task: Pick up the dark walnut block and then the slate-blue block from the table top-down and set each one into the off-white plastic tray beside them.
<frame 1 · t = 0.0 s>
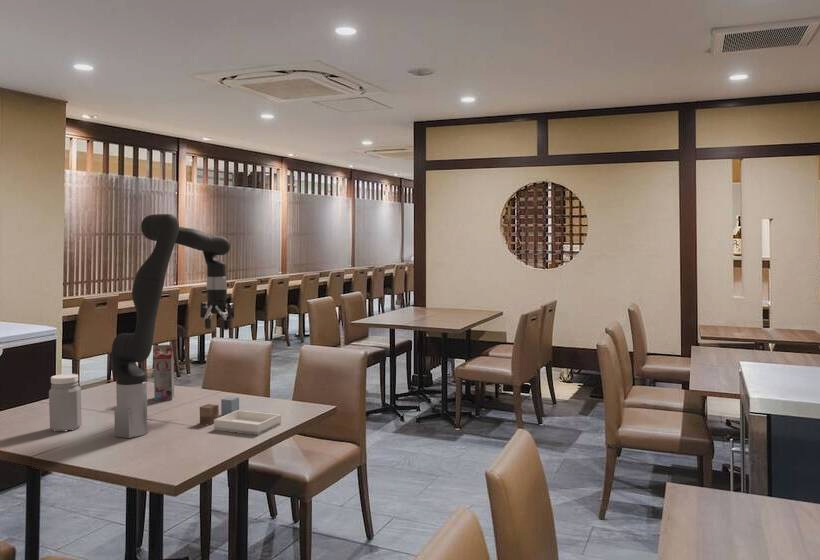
hand: (217, 329, 251), 29 cm above the table, tool pointing down, fingers open, 8 cm apart
jar: (66, 429, 216), on the table
tray: (248, 427, 218), on the table
walnut block: (209, 422, 224), on the table
slate block: (230, 414, 235), on the table
printed cardboard box: (164, 399, 259), on the table
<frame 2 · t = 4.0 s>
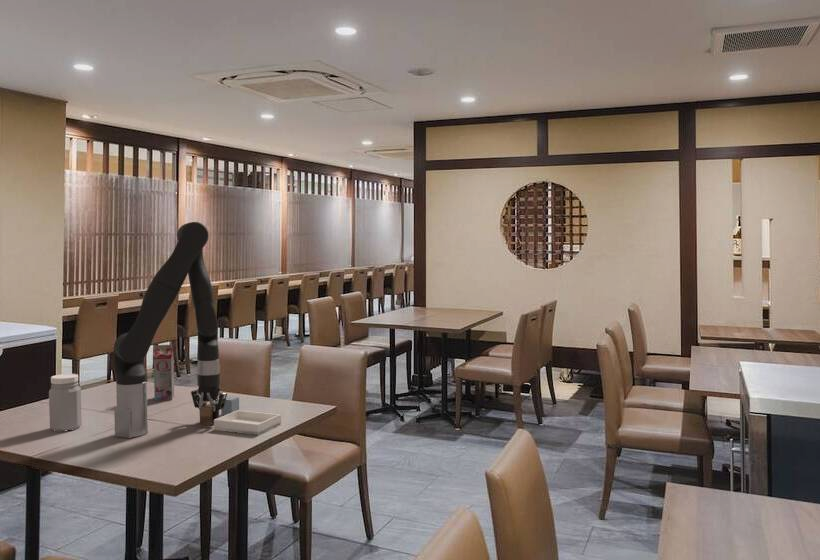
hand: (209, 420, 224), 1 cm above the table, tool pointing down, fingers closed on walnut block, 4 cm apart
walnut block: (209, 422, 224), on the table, touching gripper
everything else where it was.
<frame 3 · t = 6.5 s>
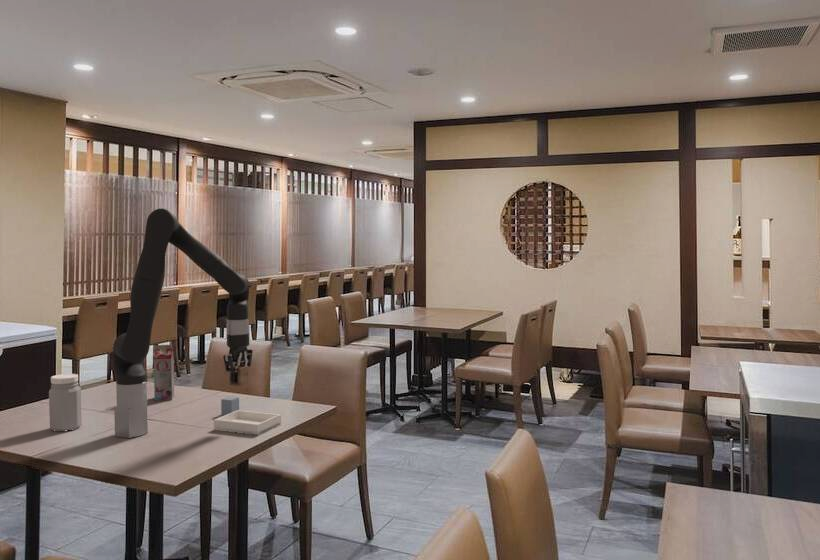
hand: (238, 381, 219), 15 cm above the table, tool pointing down, fingers closed on walnut block, 4 cm apart
walnut block: (239, 384, 219), point 15 cm above the table, touching gripper
everything else where it was.
when the fingers open (4 cm above the table, at t = 9.0 s): walnut block drops 2 cm, resting on tray.
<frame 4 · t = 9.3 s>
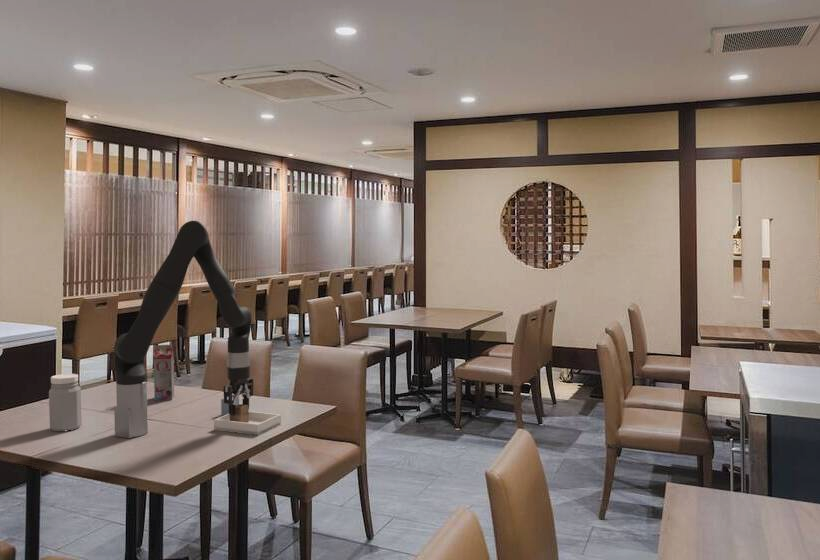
hand: (239, 412, 219), 5 cm above the table, tool pointing down, fingers open, 7 cm apart
walnut block: (239, 423, 219), point 1 cm above the table, touching tray
everything else where it was.
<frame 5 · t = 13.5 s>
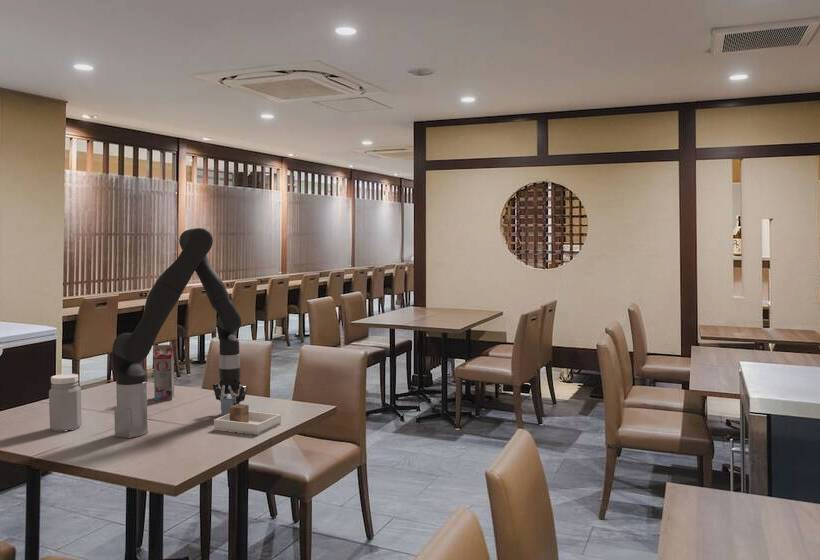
hand: (230, 411, 235), 1 cm above the table, tool pointing down, fingers closed on slate block, 4 cm apart
slate block: (230, 414, 235), on the table, touching gripper
everything else where it was.
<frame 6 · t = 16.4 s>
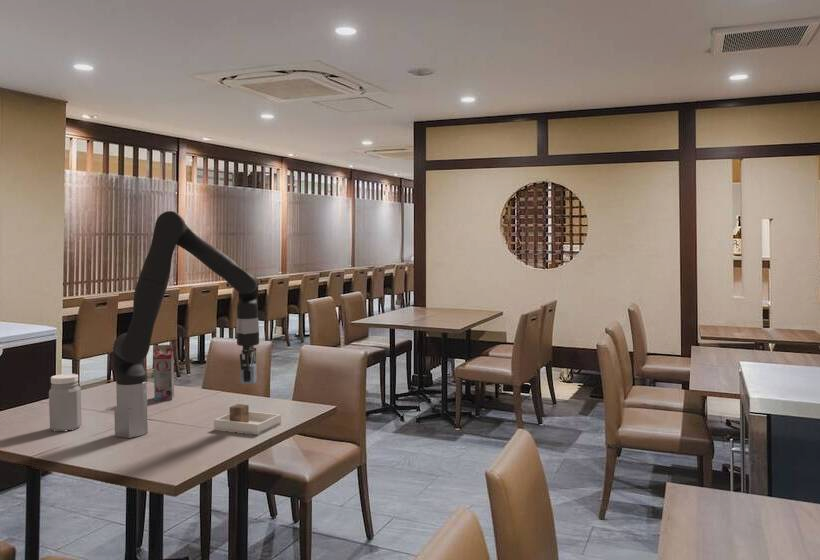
hand: (248, 379, 221), 16 cm above the table, tool pointing down, fingers closed on slate block, 4 cm apart
slate block: (248, 382, 221), point 15 cm above the table, touching gripper
everything else where it was.
when the fingers open (4 cm above the table, at t = 19.6 s): slate block drops 2 cm, resting on tray.
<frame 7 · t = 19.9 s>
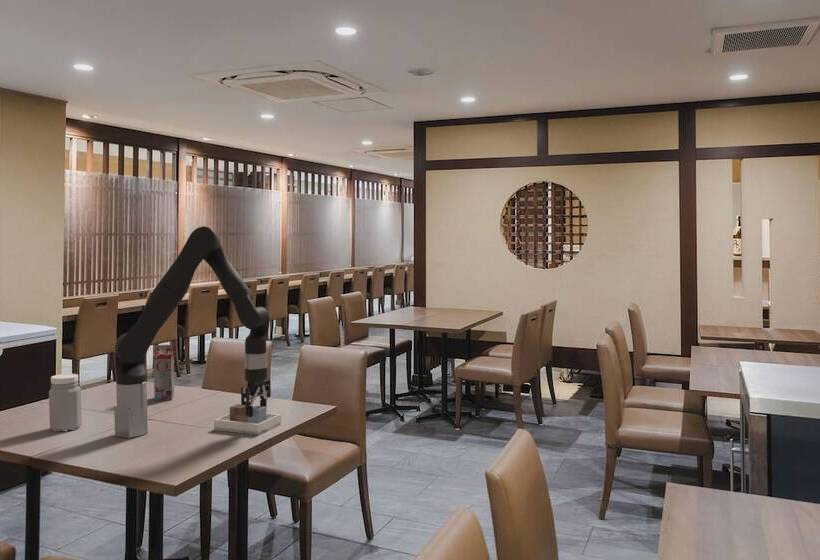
hand: (256, 413, 217), 5 cm above the table, tool pointing down, fingers open, 7 cm apart
slate block: (257, 425, 217), point 1 cm above the table, touching tray
everything else where it was.
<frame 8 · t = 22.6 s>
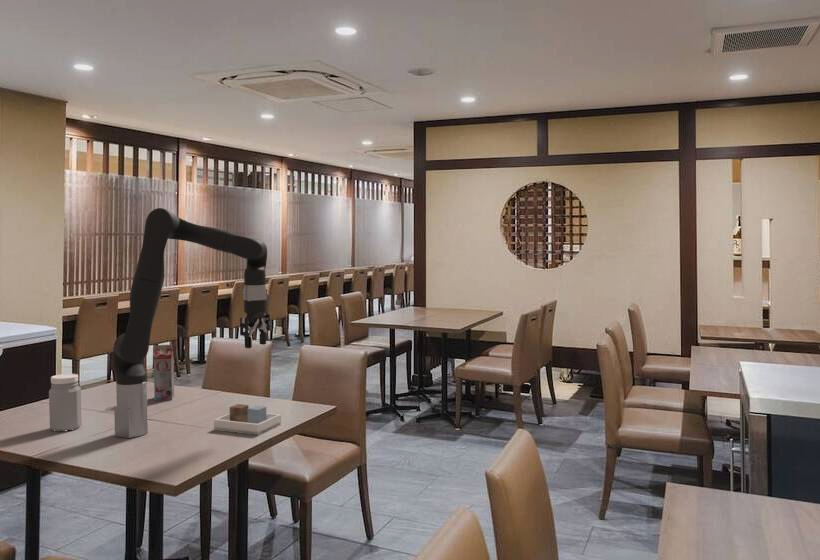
hand: (255, 346, 215), 28 cm above the table, tool pointing down, fingers open, 8 cm apart
nothing on the table moved.
at the end: walnut block inside the target area on the tray (3.5 cm from its centre), point 1.0 cm above the tray's base; slate block inside the target area on the tray (3.5 cm from its centre), point 1.0 cm above the tray's base; the gripper is holding nothing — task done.
